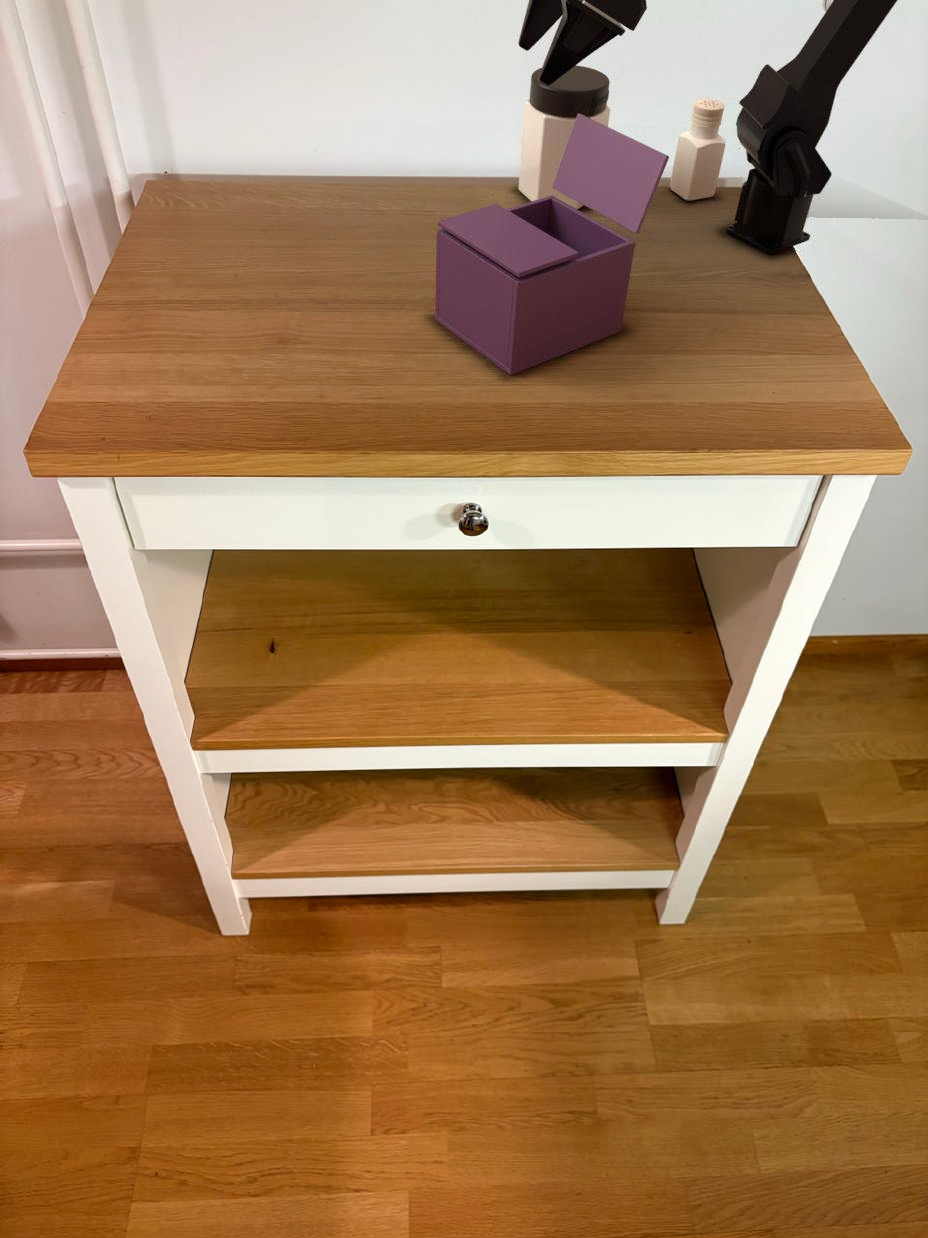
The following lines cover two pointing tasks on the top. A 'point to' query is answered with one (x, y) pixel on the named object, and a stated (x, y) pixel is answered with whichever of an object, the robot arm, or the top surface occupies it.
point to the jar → (557, 126)
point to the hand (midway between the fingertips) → (532, 64)
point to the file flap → (609, 172)
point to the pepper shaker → (699, 153)
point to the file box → (530, 281)
